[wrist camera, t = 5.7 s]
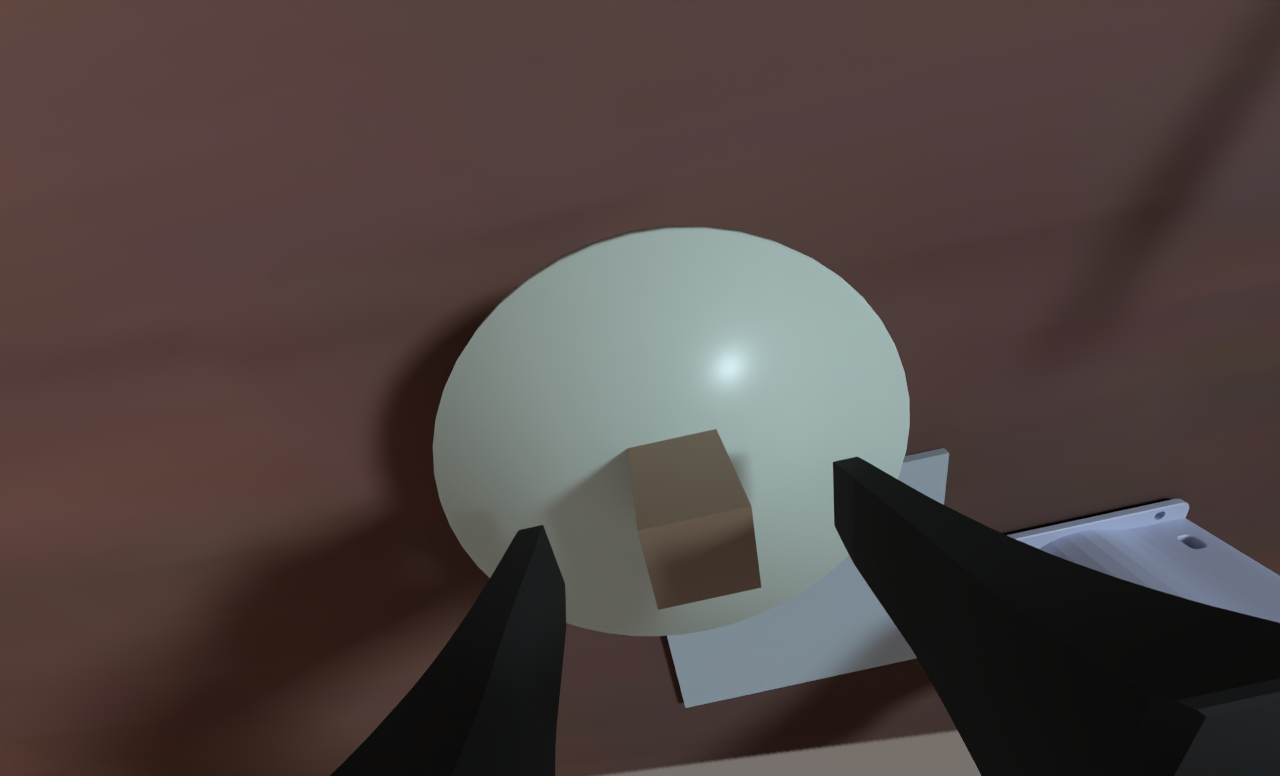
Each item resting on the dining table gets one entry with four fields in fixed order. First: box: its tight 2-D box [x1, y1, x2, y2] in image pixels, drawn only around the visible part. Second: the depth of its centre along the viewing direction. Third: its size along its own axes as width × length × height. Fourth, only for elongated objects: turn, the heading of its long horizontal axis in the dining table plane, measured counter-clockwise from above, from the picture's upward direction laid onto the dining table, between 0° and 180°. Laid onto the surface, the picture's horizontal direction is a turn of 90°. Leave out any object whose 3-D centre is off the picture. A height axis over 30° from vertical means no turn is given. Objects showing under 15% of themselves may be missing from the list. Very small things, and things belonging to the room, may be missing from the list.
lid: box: [433, 225, 910, 636], centre depth 13 cm, size 14×14×4 cm
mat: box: [667, 448, 949, 708], centre depth 24 cm, size 14×14×1 cm
